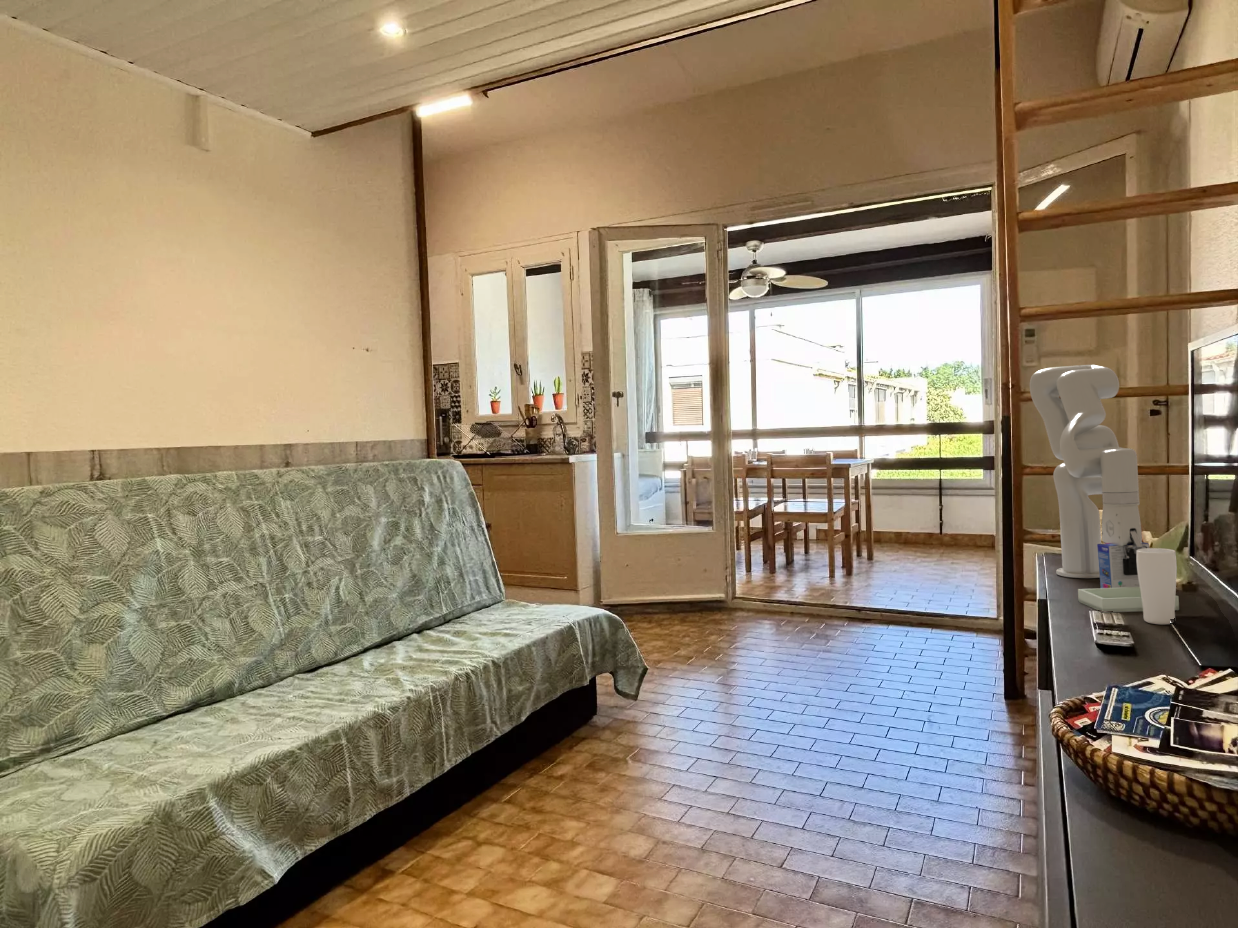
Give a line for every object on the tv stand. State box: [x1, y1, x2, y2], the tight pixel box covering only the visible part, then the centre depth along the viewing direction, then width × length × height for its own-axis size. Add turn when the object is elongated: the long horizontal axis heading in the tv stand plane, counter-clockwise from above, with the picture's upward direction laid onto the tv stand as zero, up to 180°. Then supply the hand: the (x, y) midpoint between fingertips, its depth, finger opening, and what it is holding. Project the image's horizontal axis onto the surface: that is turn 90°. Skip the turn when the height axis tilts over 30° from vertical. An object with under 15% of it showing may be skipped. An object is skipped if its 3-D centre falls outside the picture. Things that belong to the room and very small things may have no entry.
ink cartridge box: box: [1097, 541, 1150, 588], centre depth 187 cm, size 10×6×14 cm, turn 89°
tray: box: [1077, 587, 1180, 613], centre depth 174 cm, size 12×16×3 cm
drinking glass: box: [1136, 547, 1178, 626], centre depth 159 cm, size 7×7×15 cm
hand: (1124, 571), depth 187 cm, fingers closed on ink cartridge box, 5 cm apart
